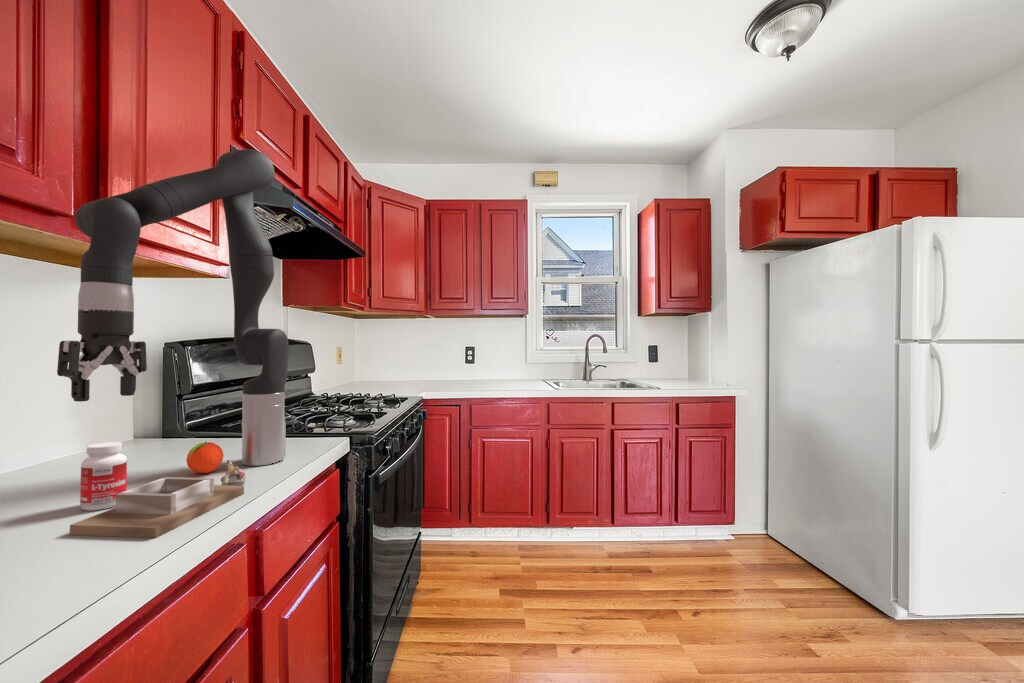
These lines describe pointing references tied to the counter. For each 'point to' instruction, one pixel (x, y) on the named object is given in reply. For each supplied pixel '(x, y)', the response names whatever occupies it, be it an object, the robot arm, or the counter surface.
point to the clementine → (204, 457)
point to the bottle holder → (157, 507)
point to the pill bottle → (102, 476)
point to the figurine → (233, 476)
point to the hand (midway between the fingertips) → (105, 398)
